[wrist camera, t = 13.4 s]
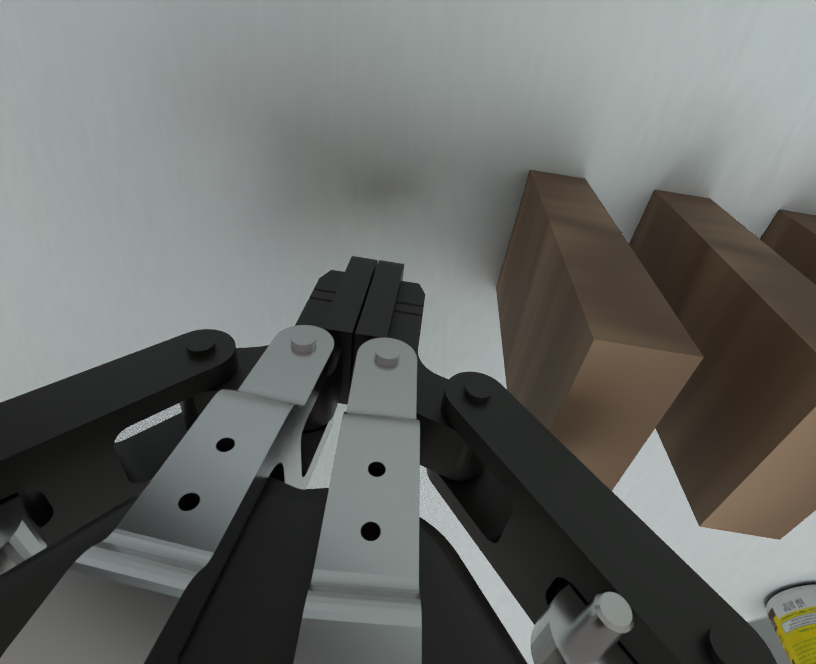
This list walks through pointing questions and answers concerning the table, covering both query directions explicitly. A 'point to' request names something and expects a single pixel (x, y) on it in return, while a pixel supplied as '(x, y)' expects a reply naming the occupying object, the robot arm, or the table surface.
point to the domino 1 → (587, 328)
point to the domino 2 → (736, 367)
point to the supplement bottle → (795, 622)
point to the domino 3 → (794, 240)
